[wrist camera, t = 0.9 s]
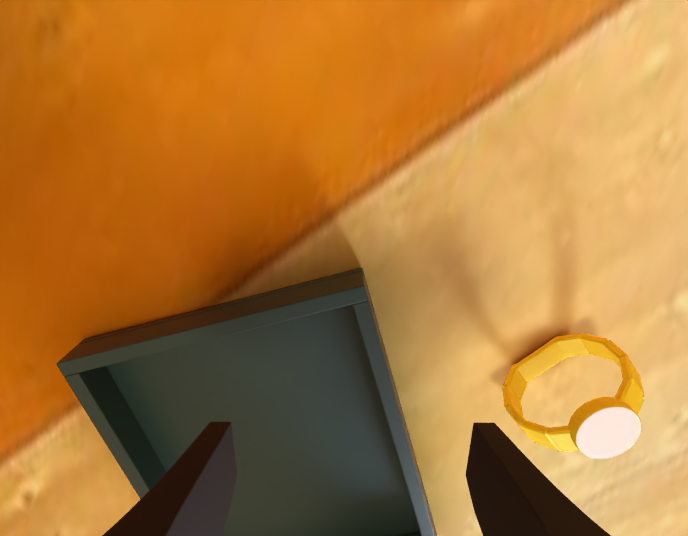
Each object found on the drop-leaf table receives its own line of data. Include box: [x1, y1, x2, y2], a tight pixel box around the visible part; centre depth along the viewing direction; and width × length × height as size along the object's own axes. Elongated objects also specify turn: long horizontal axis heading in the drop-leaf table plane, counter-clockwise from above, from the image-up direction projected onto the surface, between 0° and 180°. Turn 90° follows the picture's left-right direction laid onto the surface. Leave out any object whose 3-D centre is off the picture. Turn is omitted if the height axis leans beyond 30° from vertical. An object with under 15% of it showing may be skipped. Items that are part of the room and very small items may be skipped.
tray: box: [57, 268, 437, 536], centre depth 24 cm, size 20×16×2 cm
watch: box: [503, 333, 644, 459], centre depth 20 cm, size 6×3×6 cm, turn 128°
